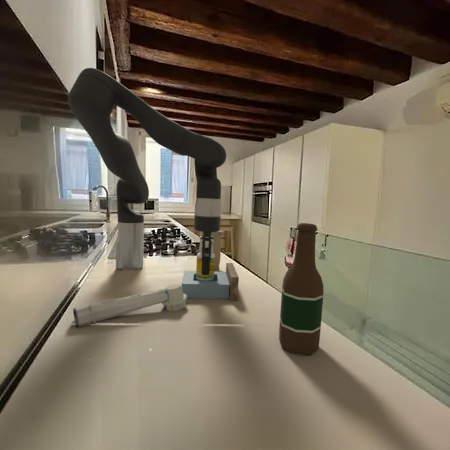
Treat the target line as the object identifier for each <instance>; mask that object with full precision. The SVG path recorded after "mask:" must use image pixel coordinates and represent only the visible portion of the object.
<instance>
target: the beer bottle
mask: <svg viewBox="0 0 450 450" xmlns="http://www.w3.org/2000/svg"><path fill="white" fill-rule="evenodd" d="M296 230H297V234H296V235H297V236H296V242H295V243H296V244H295V251H294V258H293V261H292V265H291V266H290V267H289V268H288V269H287V271H286V272H285V274H284V277H283V280H282V284H281V285H282V286H281V296H280V297H281V299H280V312H279V313H280V314H279V316H280V317H279V328H278V332H279V333H278V340H279V343H280V346H281V349H283V350H285V351H287V352H289V353H290V352H291V354H292V353H293V354H292V355H294V354H300V355H299V356H311V355H313V354H314V353H316V352H317V351H318V350H319V349H320V348H319V347H320V341H321V327H322V316H323V305H324V304H323V303H324V283H323V279H322V276H321V274H320V272H319V271H318V269H317V266H316V232H317V231H318V226H317V225H316V224H314V223H307V222H306V223H304V222H301V223H297V226H296ZM312 353H313V354H312ZM301 354H302V355H301Z"/></svg>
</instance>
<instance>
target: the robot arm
mask: <svg viewBox="0 0 450 450" xmlns="http://www.w3.org/2000/svg"><path fill="white" fill-rule="evenodd" d="M67 103H68V106H69V108H70V110H71V112H72V114H73V115H74V117H75V118H76V119H77V120H78V123H80V125H81V126H82V128H83V129H84V130H85V132H86V133H87V135H88V137H90V140H91V141H92V143H93V144H94V146H95V148H96V149H97V151H98V153H99V155H100V158H101V159H102V162H103V163H104V165H105V166H106V168H107V169H108V171H109V172H110V173H112V174H113V175H115V176H116V177H117V178H119V179H118V180H117V184H116V210H117V211H116V213H117V215H116V216H117V242H115V269H118V270H123V271H124V270H128V271H129V270H130V271H131V270H139V269H142V268H143V267H144V238H145V237H144V232H145V231H144V228H145V227H144V226H145V222H144V221H145V216H144V215H143V213H141V212H137V211H136V210H134V209H132V208H131V207H130V204H131V205H134V204H135V205H142V204H145V203H146V202H147V201H148V200H149V197H150V190H149V186H148V183H147V181H146V178H145V176H144V174H143V173H142V171H141V169H140V167H139V164H138V160H137V158H136V154H135V151H134V149H133V146H132V144H131V142H130V141H129V140H128V139H127V138H126V137H125V136H123V135H121V134H118V133H116V132H115V131H114V128H113V126H112V123H111V115H112V113H113V110H114V108H115V106H116V107H117V108H120V109H122V110H123V111H125V112H127V113H128V114H129V115H130V116H131V117H132V118H134V119H135V120H136V121H137V123H138V124H139V125H140V126H141V128H142V129H143V130H144V131H145V133H146V134H147V135H148V136H149V137H150V138H151V139H152V140H153V141H155V143H157V144H158V145H159V146H161V147H164V148H165V149H167V150H169V151H171V152H173V153H175V154H178V155H179V156H182V157H183V156H184V157H185V156H186V157H190V158H191V159H194V160H193V161H194V171H195V179H196V192H195V193H196V194H195V204H194V219H193V221H194V223H193V229H194V231H196V232H201V233H202V235H201V236H199V244H200V251H199V252H200V253H201V254H202V258H201V261H202V275H209V271H210V261H211V254H212V249H213V243H214V238H213V237H211V233H212V232H218V231H220V230H221V217H222V216H221V214H222V204H221V203H222V202H221V195H222V194H221V193H222V182H221V180H220V179H219V178H218V172H217V171H218V168H219V167H221V166H222V165H224V164H225V162H226V160H227V152H226V149H225V147H224V146H223V145H222V144H221V143H219V142H218V141H216V140H215V139H212V138H210V137H207V136H204V135H201V134H199V133H196V132H194V131H191V130H190V129H188V128H187V127H185V126H182V125H181V124H179V123H177V122H175V121H173V120H172V119H170V118H168V117H167V116H165V115H163V114H162V113H161V112H159V111H158V110H157V109H155V108H153V107H152V106H151V105H149V104H148V103H147V102H146V101H144V100H143V99H142V98H141V97H139V96H138V95H136V93H134V92H133V91H131V90H130V89H128V88H127V87H126V86H125V85H123V84H122V83H120V81H118V80H117V79H115V78H114V77H112V76H111V75H109V74H108V73H106V72H104V71H102V70H101V69H97V68H94V67H86V68H84V69H83V70H81V72H80V73H79V74H78V76H77V78H76V80H75V82H74V83H73V85H72V87H71V88H70V90H69V93H68V97H67ZM204 254H209V257H204Z"/></svg>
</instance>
